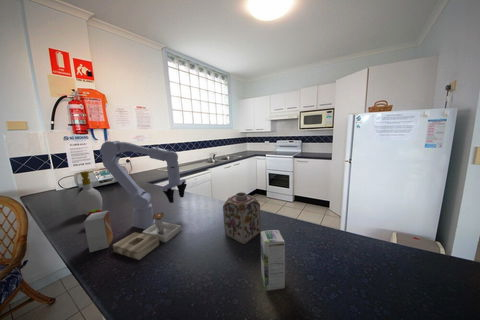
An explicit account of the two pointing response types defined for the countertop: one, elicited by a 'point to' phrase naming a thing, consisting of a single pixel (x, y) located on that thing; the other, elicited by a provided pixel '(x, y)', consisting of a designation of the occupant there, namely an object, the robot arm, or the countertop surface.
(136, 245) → the hitch block
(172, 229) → the tray
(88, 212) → the strawberry
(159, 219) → the pin
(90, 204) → the soap bottle
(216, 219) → the countertop surface
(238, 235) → the decorative jar
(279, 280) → the syrup box
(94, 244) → the small box
